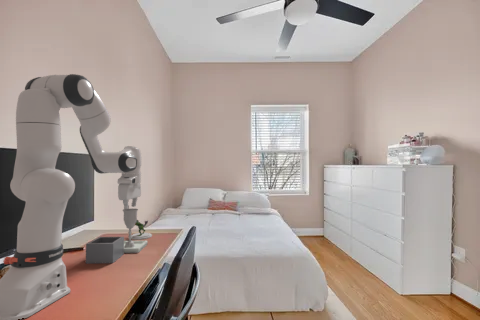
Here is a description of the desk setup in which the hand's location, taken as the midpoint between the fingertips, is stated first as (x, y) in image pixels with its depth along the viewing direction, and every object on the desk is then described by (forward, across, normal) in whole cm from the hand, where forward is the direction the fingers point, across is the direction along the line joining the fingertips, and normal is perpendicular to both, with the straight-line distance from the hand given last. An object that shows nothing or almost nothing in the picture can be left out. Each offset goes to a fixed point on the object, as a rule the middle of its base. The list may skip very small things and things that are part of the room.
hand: (130, 207), depth 126 cm
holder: (+20, +13, -5) cm, 25 cm away
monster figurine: (+20, -23, -2) cm, 30 cm away
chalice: (+19, 0, 0) cm, 19 cm away
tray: (+20, -1, 0) cm, 20 cm away
